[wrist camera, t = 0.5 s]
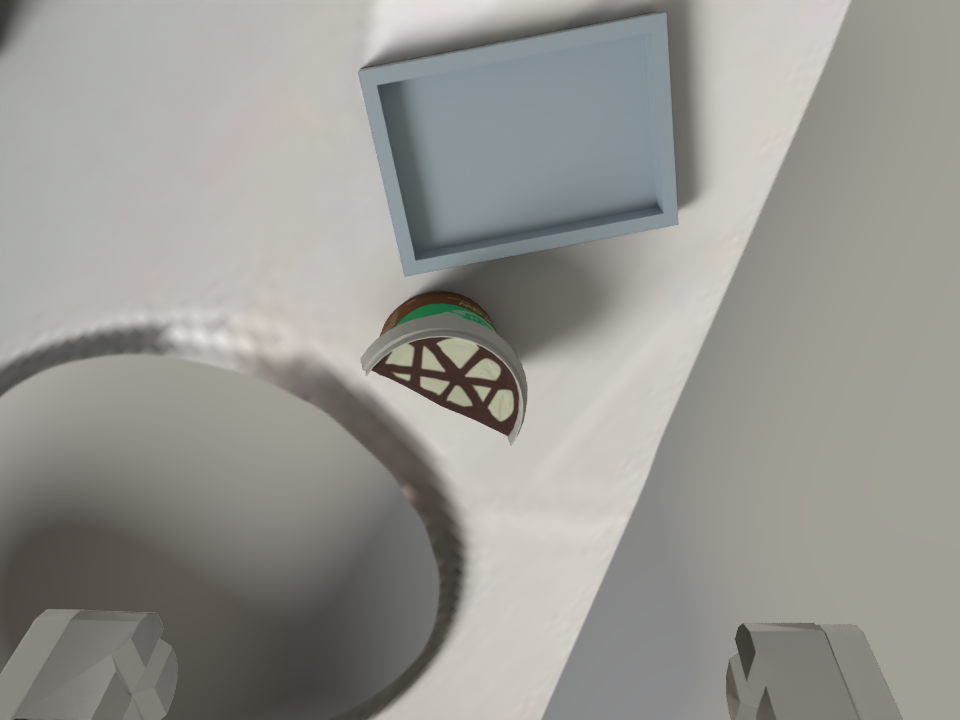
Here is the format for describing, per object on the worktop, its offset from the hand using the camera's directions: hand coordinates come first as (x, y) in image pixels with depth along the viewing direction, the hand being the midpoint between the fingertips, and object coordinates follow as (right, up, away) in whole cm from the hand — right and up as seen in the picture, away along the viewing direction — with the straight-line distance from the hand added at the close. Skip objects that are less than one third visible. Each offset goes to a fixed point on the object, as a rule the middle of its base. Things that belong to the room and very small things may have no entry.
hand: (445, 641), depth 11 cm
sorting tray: (+4, +19, +42) cm, 47 cm away
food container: (-1, +7, +48) cm, 48 cm away
